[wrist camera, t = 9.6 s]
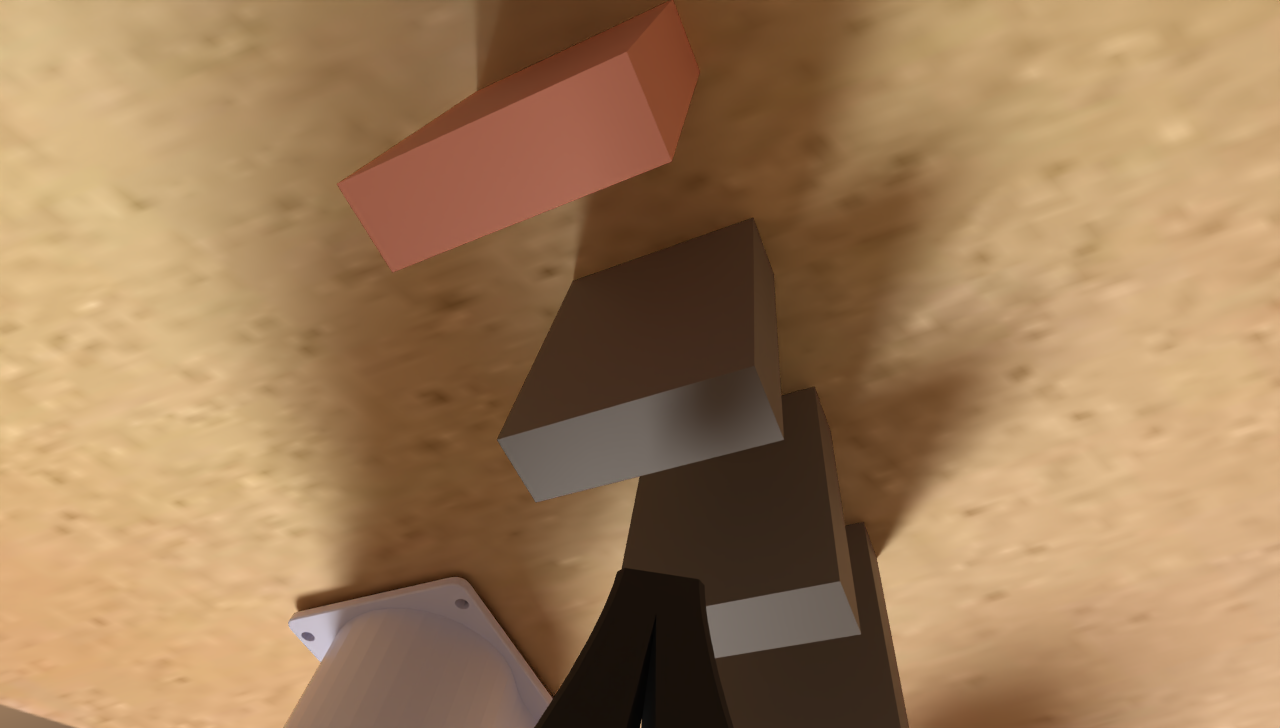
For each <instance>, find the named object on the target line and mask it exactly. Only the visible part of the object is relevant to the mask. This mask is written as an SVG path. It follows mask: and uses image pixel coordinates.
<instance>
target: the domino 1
mask: <svg viewBox="0 0 1280 728" xmlns="http://www.w3.org/2000/svg"><path fill="white" fill-rule="evenodd" d="M699 73H700V71H699V68H698V65H697V63H696V60H695V57H694V55H693V52H692V49H691V47H690V44H689V41H688V39H687V36H686V33H685V30H684V28H683V25H682V22H681V20H680V17H679V14H678V12H677V9H676V6H675V4H674V1H673V0H670V1H668V2H665V3H663V4H661V5H659V6H657V7H655V8H653V9H651V10H648V11H646V12H644V13H642V14H640V15H638V16H636V17H634V18H631V19H629V20H627V21H625V22H623V23H621V24H619V25H617V26H614V27H612V28H610V29H608V30H606V31H604V32H602V33H600V34H597V35H595V36H593V37H591V38H589V39H587V40H585V41H583V42H580V43H578V44H576V45H574V46H572V47H570V48H568V49H566V50H563V51H561V52H559V53H557V54H555V55H553V56H551V57H549V58H546V59H544V60H542V61H540V62H538V63H536V64H534V65H532V66H529V67H527V68H525V69H523V70H521V71H519V72H517V73H515V74H512V75H510V76H508V77H506V78H504V79H502V80H500V81H498V82H495V83H493V84H491V85H489V86H487V87H485V88H483V89H481V90H478V91H476V92H475V93H473V94H472V95H470V96H469V97H467V98H466V99H464V100H463V101H461V102H460V103H458V104H457V105H455V106H454V107H452V108H451V109H449V110H448V111H446V112H445V113H443V114H442V115H440V116H439V117H437V118H436V119H434V120H433V121H431V122H430V123H428V124H427V125H425V126H424V127H422V128H421V129H419V130H418V131H416V132H415V133H413V134H411V135H410V136H408V137H407V138H405V139H404V140H402V141H401V142H399V143H398V144H396V145H395V146H393V147H392V148H390V149H389V150H387V151H386V152H384V153H383V154H381V155H380V156H378V157H377V158H375V159H374V160H372V161H371V162H369V163H368V164H366V165H365V166H363V167H362V168H360V169H359V170H357V171H356V172H354V173H353V174H351V175H350V176H348V177H347V178H345V179H343V180H342V181H340V182H339V183H337V185H338V187H339V189H340V190H341V192H342V193H343V195H344V197H345V198H346V200H347V201H348V203H349V204H350V206H351V208H352V209H353V211H354V212H355V214H356V216H357V217H358V219H359V220H360V222H361V224H362V225H363V227H364V228H365V230H366V231H367V233H368V235H369V236H370V238H371V239H372V241H373V243H374V244H375V246H376V247H377V249H378V250H379V252H380V254H381V255H382V257H383V258H384V260H385V262H386V263H387V265H388V266H389V268H390V270H391V271H392V273H393V272H395V271H398V270H400V269H403V268H405V267H408V266H410V265H413V264H415V263H418V262H420V261H423V260H425V259H428V258H430V257H433V256H435V255H438V254H440V253H443V252H446V251H448V250H451V249H453V248H456V247H458V246H461V245H463V244H466V243H468V242H471V241H473V240H476V239H478V238H481V237H483V236H486V235H488V234H491V233H493V232H496V231H498V230H501V229H503V228H506V227H508V226H511V225H513V224H516V223H518V222H521V221H523V220H526V219H529V218H531V217H534V216H536V215H539V214H541V213H544V212H546V211H549V210H551V209H554V208H556V207H559V206H561V205H564V204H566V203H569V202H571V201H574V200H576V199H579V198H581V197H584V196H586V195H589V194H591V193H594V192H596V191H599V190H601V189H604V188H606V187H609V186H611V185H614V184H617V183H619V182H622V181H624V180H627V179H629V178H632V177H634V176H637V175H639V174H642V173H644V172H647V171H649V170H652V169H654V168H657V167H659V166H662V165H664V164H667V163H669V162H672V159H673V156H674V153H675V150H676V147H677V143H678V140H679V137H680V134H681V131H682V127H683V124H684V121H685V118H686V115H687V112H688V108H689V105H690V102H691V99H692V96H693V92H694V89H695V86H696V83H697V80H698V77H699Z"/></svg>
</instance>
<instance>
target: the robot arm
mask: <svg viewBox="0 0 1280 728" xmlns="http://www.w3.org/2000/svg"><path fill="white" fill-rule="evenodd" d="M288 624H289V627H290V629H291V630H292V631H293V633H294V634H295V635H296V636H297V637H298V638H299V639H300V640H301V641H302V642H303V644H304V645H305V646H306V647H307V648H308V649H309V650H310V651H311V652H312V653H313V654H314V656H315V657H316V658H317V659H318V660H319V661H320V662H321V663H320V665H319V666H318V668H317V670H316V672H315V673H314V675H313V677H312V679H311V680H310V682H309V684H308V686H307V687H306V689H305V691H304V693H303V694H302V696H301V698H300V700H299V701H298V703H297V705H296V707H295V708H294V710H293V712H292V714H291V715H290V717H289V719H288V721H287V722H286V724H285V726H284V728H640V724H641V720H642V725H641V728H734V727H733V724H732V720H731V717H730V714H729V710H728V706H727V703H726V699H725V695H724V692H723V688H722V684H721V681H720V677H719V673H718V669H717V664H716V660H715V656H714V651H713V646H712V641H711V636H710V630H709V624H708V618H707V611H706V601H705V585H704V584H703V583H702V582H701V581H700V580H699V579H695V578H688V577H682V576H675V575H669V574H662V573H656V572H649V571H643V570H636V569H630V568H623V569H621V570H620V571H618V572H617V574H616V578H615V581H614V584H613V587H612V589H611V592H610V594H609V597H608V599H607V602H606V604H605V606H604V608H603V611H602V613H601V615H600V617H599V619H598V621H597V623H596V625H595V627H594V629H593V631H592V633H591V635H590V637H589V639H588V641H587V642H586V644H585V646H584V648H583V649H582V651H581V653H580V655H579V656H578V658H577V660H576V662H575V664H574V665H573V667H572V669H571V671H570V672H569V674H568V676H567V677H566V679H565V681H564V682H563V684H562V686H561V687H560V689H559V690H558V692H557V693H556V695H555V696H554V698H552V697H551V696H550V694H549V693H548V691H547V690H546V689H545V687H544V686H543V685H542V683H541V682H540V680H539V679H538V678H537V676H536V675H535V673H534V672H533V671H532V669H531V668H530V667H529V665H528V664H527V662H526V661H525V660H524V658H523V657H522V655H521V654H520V653H519V651H518V650H517V648H516V647H515V646H514V644H513V643H512V642H511V640H510V639H509V637H508V636H507V635H506V633H505V632H504V630H503V629H502V628H501V626H500V625H499V624H498V622H497V621H496V619H495V618H494V617H493V615H492V614H491V612H490V611H489V610H488V608H487V607H486V605H485V604H484V603H483V601H482V600H481V599H480V597H479V596H478V594H477V593H476V592H475V590H474V589H473V587H472V586H471V585H470V583H469V582H467V581H466V580H465V579H463V578H460V577H450V578H445V579H441V580H437V581H432V582H428V583H423V584H419V585H414V586H410V587H405V588H401V589H397V590H392V591H388V592H383V593H379V594H374V595H370V596H366V597H361V598H357V599H352V600H348V601H343V602H339V603H334V604H330V605H326V606H321V607H317V608H312V609H308V610H303V611H299V612H296V613H294V614H293V616H292V617H291V619H290V620H289V622H288Z"/></svg>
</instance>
